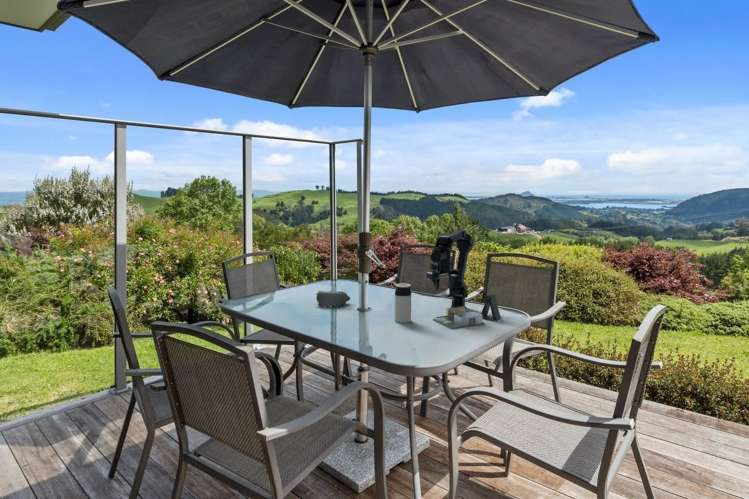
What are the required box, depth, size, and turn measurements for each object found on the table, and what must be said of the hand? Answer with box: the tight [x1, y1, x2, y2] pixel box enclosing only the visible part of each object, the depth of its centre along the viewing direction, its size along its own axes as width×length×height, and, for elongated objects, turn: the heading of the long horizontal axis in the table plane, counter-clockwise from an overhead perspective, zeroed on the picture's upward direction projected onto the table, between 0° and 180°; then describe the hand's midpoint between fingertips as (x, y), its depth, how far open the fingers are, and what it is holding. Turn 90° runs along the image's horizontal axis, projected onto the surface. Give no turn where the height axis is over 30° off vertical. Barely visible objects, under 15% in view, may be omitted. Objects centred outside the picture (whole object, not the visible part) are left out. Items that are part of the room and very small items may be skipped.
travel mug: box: [394, 282, 412, 324], centre depth 212 cm, size 8×8×18 cm
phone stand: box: [480, 293, 502, 322], centre depth 217 cm, size 9×6×12 cm, turn 54°
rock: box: [315, 290, 351, 308], centre depth 244 cm, size 18×11×8 cm, turn 86°
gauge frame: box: [432, 311, 486, 330], centre depth 211 cm, size 19×16×5 cm
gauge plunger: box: [435, 306, 466, 318], centre depth 213 cm, size 16×8×5 cm, turn 115°
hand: (444, 290), depth 223 cm, fingers open, 9 cm apart
